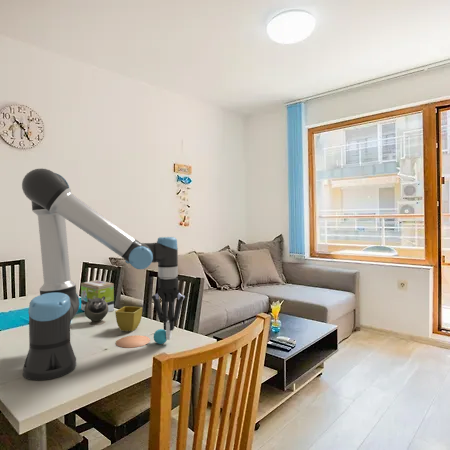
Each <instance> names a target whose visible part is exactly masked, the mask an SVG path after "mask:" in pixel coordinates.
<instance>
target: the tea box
mask: <svg viewBox="0 0 450 450" xmlns="http://www.w3.org/2000/svg"><path fill="white" fill-rule="evenodd" d="M114 285H115V284H114V283H112V282H108V281H103V280H99V279H95V280H90V281H85V282H81V283H80V308H81V310H82V311H84V308H85V305H86V304H87V302H88V298H90V299H94V298H102V297H103V296H105V301H106V303H107V304H108V313H111V312H113V311H115V296H114V295H115V293H114V292H115V290H114V289H115V288H114V287H115V286H114Z"/></svg>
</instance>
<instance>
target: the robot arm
mask: <svg viewBox="0 0 450 450" xmlns="http://www.w3.org/2000/svg"><path fill="white" fill-rule="evenodd" d="M21 189H22V191H23V194H24V195H25V196H26V198H27V199H28V200H29V201H31V209H32V212H33V213H34V214H35V215H36V216H37V220H38V222H37V223H38V233H39V242H40V254H41V256H40V257H41V264H42V278H43V285H41V286H40V288H39V295H37V296H35V297H33V298H32V299H31V300H30V302H29V307H28V312H27V313H28V333H29V334H28V335H29V336H28V339H29V340H28V341H29V349H28V351H27V354H26V357H25V360H24V364H23V367H22V377H24V378H25V379H27V380H30V381H31V380H32V381H44V380H52V379H55V378H59V377H62V376H63V377H64V376H65V375H68V374H70V373H71V372H73V371H74V370H75V369H76V367H77V356H76V355H75V352H74V348H73V346H72V344H71V322H72V320H73V319H74V317H75V316H76V315H77V313H78V311H79V310H80V309H79V308H80V306H81V301H80V298H79V295H78V294H77V285H76V283H75V282H74V281H72V280H71V268H70V267H71V266H70V258H69V257H70V256H69V246H68V245H69V244H68V236H67V235H68V234H67V222H66V220H67V221H68V222H70V223H71V224H73V225H74V226H76V227H77V228H78V229H80V230H82V231H83V232H84V233H85V234H88V235H89V236H91V238H93V239H94V240H96V241H98V242H99V243H100V244H102V245H103V246H105V247H106V248H108V249H110V251H112V252H113V253H115V254H116V255H118V256H119V257H121V258H122V259H124V260H125V263H126V264H129V265H130V266H131V267H133V268H134V269H136V270H145V269H147V268H149V266H151V264H152V263H154V264H155V263H157V277H158V279H157V282H158V289H157V293H155V294H153V295H152V296H151V299H152V300H153V303H154V305H155V310H156V313H157V317H158V321H162V322H163V330H165V331H166V340H167V341H170V340H171V339H172V338H173V331H174V329H175V322H177V321H178V320H179V319H180V313H181V310H182V305H183V301H184V300H185V298H186V296H185V294H181V292H180V289H179V278H178V277H179V276H178V274H179V265H178V262H179V260H178V259H179V256H178V253H179V252H178V251H179V250H178V249H179V248H178V239H177V238H176V237H174V236H161V237H160V236H159V237H158V238H157V240H156V242H145V243H144V242H142V243H141V242H140V241H139V240H137V239H136V238H134V237H133V236H132V235H130V234H129V233H127V231H125V230H123V229H122V228H121V227H119V226H118V225H116V224H115V223H113V222H112V221H111V220H110V219H108V218H107V217H105V216H104V215H102V214H101V213H99V212H98V211H97V210H96V209H94V208H92V206H89V205H88V204H87V203H85V202H84V201H83V200H82V199H80V198H79V197H77V196H76V195H74V194H73V193H72V189H71V188H70V185H69V183H68V182H67V180H66V179H65V178H64V177H63V176H62V175H60V174H59V173H56V172H55V171H52V170H50V169H47V168H35V169H32V170H30V171H29V172H27V173H26V175H24V176H23V179H22V182H21ZM176 299H177V303H176V308H175V300H176Z"/></svg>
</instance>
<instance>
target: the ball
mask: <svg viewBox="0 0 450 450" xmlns="http://www.w3.org/2000/svg"><path fill="white" fill-rule="evenodd" d="M153 340H154V342H155V343H156V344H157V345H158V344H159V345H162V344H164V343H166V342H167V341H168V340H166V330H164V328H160V329H157V330H156V331H154V333H153Z"/></svg>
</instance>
